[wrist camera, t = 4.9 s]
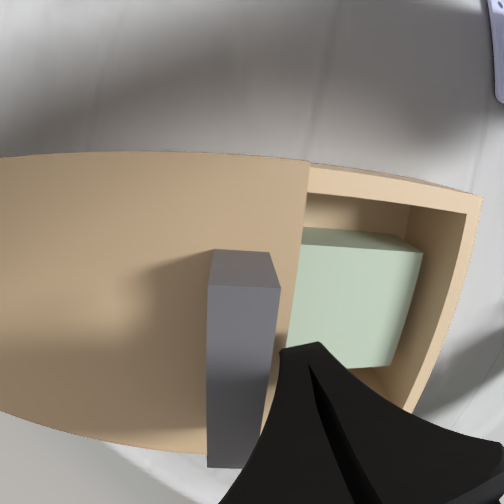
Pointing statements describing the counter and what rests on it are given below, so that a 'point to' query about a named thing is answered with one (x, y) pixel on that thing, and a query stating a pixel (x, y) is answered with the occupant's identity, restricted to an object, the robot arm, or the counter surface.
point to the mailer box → (381, 274)
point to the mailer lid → (148, 294)
